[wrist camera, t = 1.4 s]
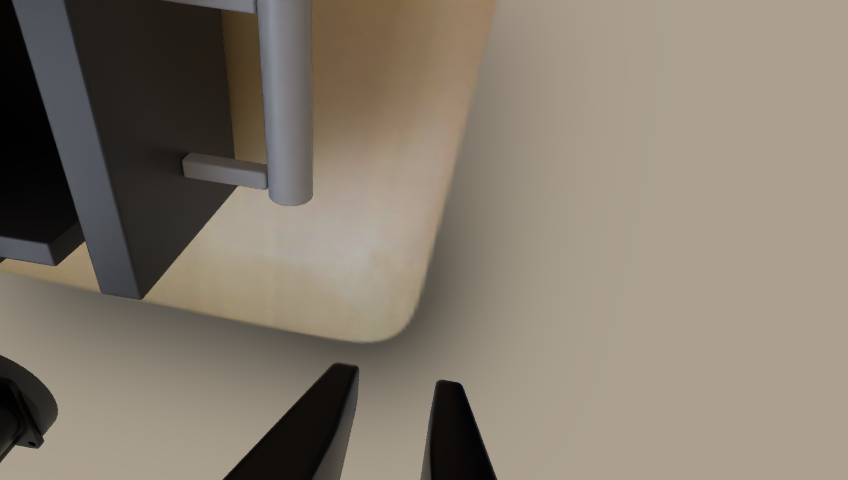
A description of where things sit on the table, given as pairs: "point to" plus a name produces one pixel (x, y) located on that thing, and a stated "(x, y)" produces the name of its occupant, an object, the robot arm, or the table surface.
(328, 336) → the table surface
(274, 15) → the drawer
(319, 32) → the table surface
